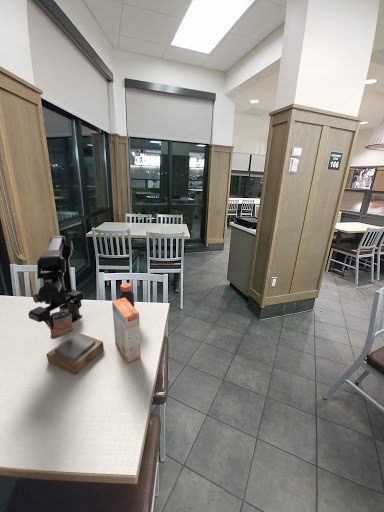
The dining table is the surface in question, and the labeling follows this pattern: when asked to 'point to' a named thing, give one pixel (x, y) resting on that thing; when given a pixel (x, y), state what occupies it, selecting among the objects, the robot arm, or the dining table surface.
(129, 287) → the bottle
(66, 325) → the lighter
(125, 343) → the cracker box
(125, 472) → the dining table surface
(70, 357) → the walnut base
